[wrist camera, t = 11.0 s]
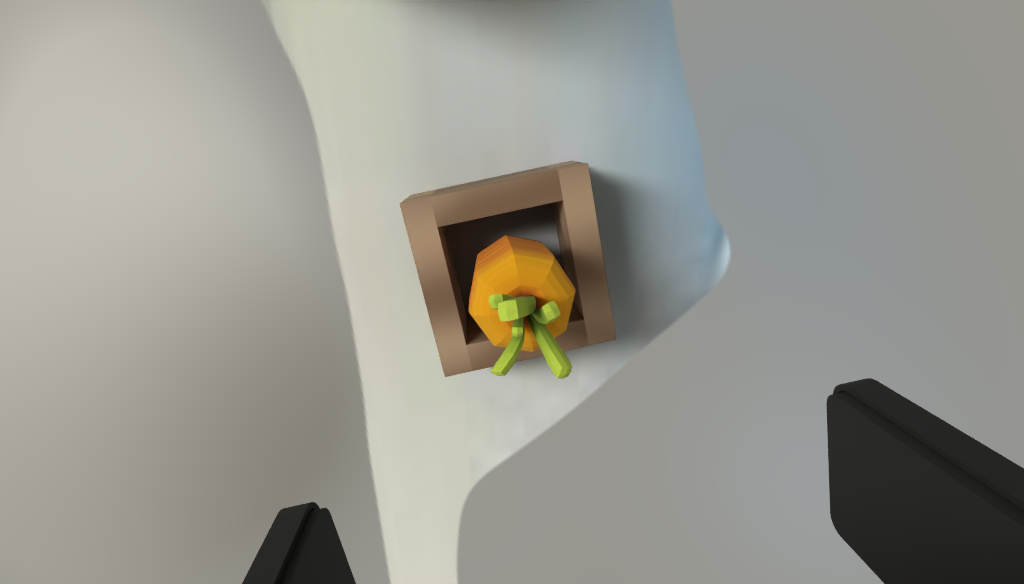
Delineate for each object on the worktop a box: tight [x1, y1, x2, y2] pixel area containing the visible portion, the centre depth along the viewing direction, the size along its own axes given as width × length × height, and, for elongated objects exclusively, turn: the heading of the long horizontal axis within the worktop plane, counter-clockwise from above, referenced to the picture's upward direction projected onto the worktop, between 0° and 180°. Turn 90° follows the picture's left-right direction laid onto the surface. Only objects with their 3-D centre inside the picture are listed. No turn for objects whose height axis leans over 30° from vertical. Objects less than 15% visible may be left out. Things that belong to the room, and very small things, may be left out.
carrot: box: [469, 235, 576, 378], centre depth 27 cm, size 5×5×15 cm
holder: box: [400, 161, 616, 377], centre depth 31 cm, size 10×10×5 cm
